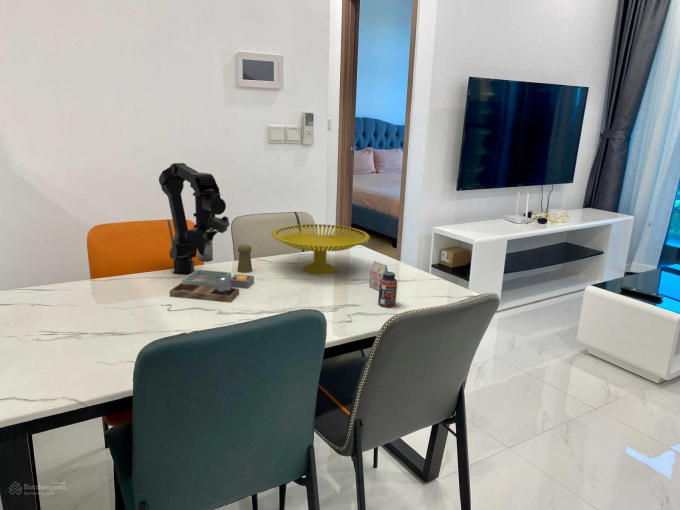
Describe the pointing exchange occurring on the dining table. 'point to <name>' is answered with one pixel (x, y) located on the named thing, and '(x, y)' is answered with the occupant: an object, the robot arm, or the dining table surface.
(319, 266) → the yellow pedestal fruit bowl
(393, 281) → the supplement bottle
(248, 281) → the button housing
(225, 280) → the seated steel billet
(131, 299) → the dining table surface
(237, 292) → the walnut pallet
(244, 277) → the button
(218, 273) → the sage tote
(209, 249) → the cylinder
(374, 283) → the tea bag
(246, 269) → the cork
